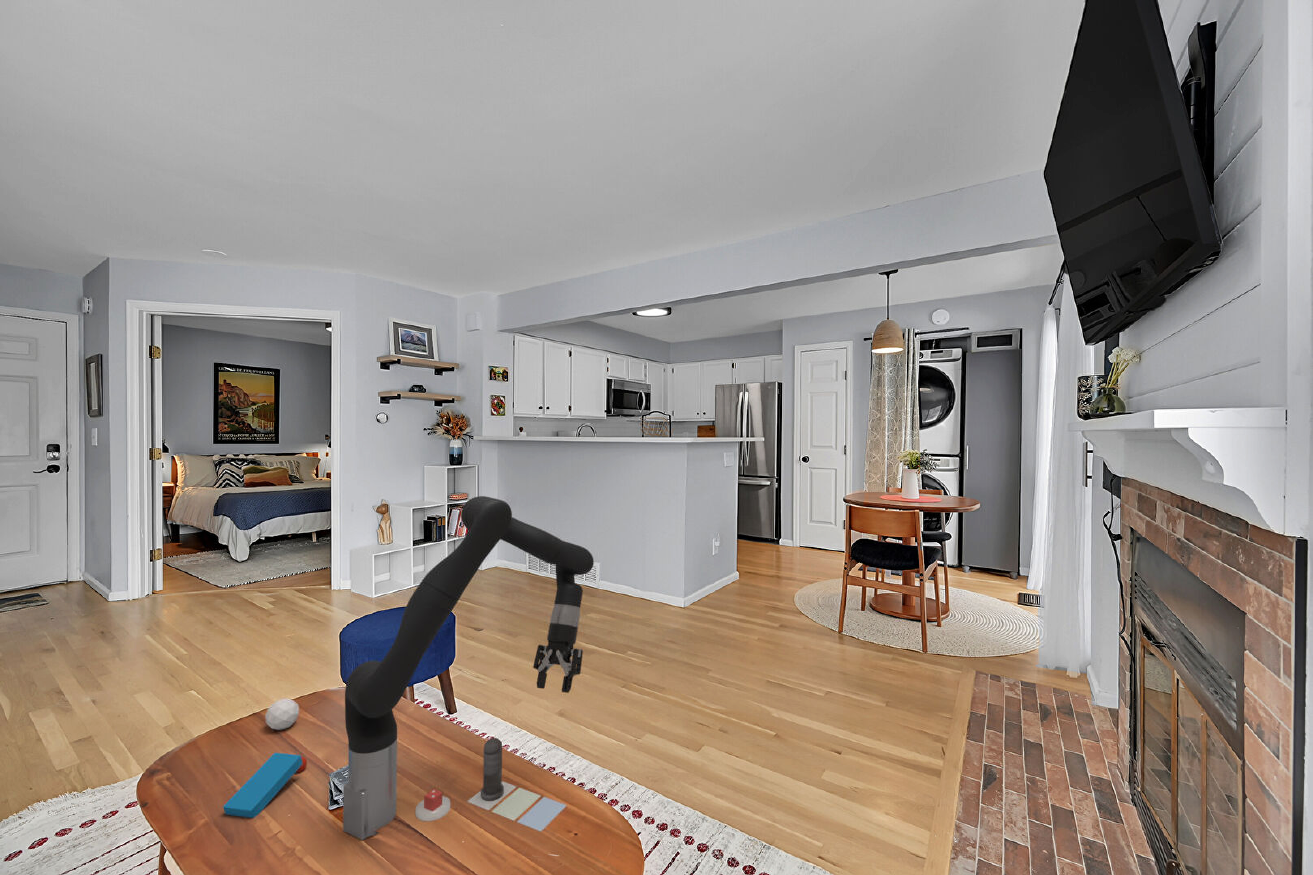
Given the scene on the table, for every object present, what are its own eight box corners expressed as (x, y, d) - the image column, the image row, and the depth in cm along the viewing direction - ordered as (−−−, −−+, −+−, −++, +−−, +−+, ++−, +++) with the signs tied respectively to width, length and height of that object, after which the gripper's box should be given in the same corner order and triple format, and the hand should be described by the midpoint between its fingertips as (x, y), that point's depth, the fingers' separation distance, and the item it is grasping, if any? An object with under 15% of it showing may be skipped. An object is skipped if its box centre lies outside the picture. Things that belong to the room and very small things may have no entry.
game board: (539, 840, 116) (539, 834, 116) (462, 808, 125) (462, 803, 125) (570, 808, 126) (570, 803, 126) (497, 781, 135) (497, 776, 135)
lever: (258, 835, 123) (317, 765, 140) (251, 810, 121) (312, 742, 138) (230, 831, 124) (292, 762, 141) (222, 806, 122) (286, 740, 139)
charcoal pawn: (493, 803, 125) (493, 747, 125) (475, 796, 128) (476, 741, 127) (508, 790, 130) (509, 736, 130) (491, 784, 132) (492, 730, 132)
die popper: (431, 830, 118) (432, 807, 118) (408, 819, 121) (408, 797, 121) (457, 810, 125) (457, 788, 125) (434, 800, 128) (434, 779, 128)
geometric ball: (282, 740, 156) (274, 726, 151) (264, 724, 158) (254, 710, 153) (308, 717, 161) (301, 703, 156) (290, 702, 164) (282, 687, 159)
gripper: (534, 620, 152) (522, 686, 146) (575, 623, 144) (563, 693, 138) (554, 624, 158) (542, 687, 151) (593, 627, 150) (583, 694, 144)
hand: (552, 690), depth 145 cm, fingers open, 8 cm apart
